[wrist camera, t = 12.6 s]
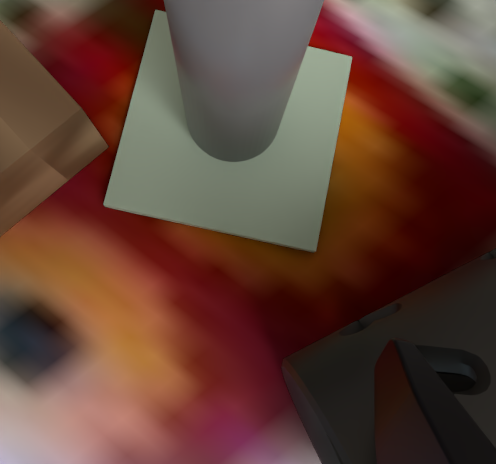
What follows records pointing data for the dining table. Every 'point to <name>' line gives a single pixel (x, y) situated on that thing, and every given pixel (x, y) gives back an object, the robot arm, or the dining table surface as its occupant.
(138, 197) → the mat
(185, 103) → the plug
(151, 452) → the dining table surface
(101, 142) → the socket block
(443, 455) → the robot arm
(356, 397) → the muzzle brake
